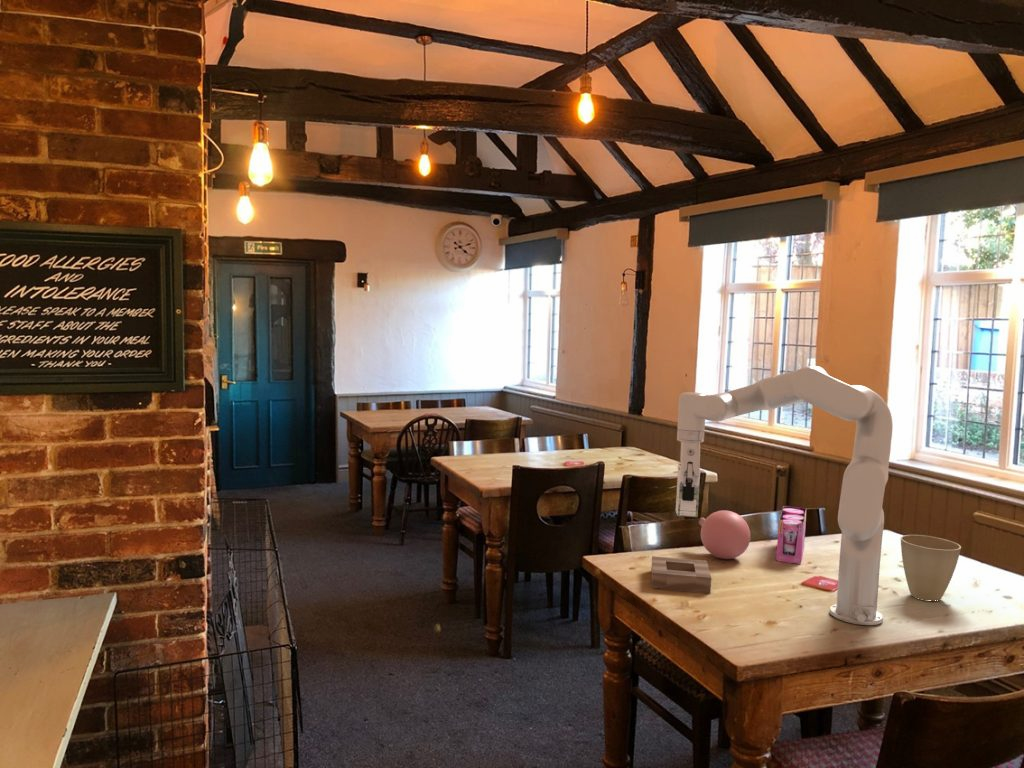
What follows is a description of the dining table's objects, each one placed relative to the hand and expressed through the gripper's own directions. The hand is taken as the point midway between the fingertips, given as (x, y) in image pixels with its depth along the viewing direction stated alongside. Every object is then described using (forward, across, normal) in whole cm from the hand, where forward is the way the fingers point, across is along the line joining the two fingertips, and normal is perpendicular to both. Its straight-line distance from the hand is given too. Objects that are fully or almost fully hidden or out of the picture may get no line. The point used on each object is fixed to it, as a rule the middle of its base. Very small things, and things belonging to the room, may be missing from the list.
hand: (687, 497), depth 220 cm
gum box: (+25, +40, -36) cm, 59 cm away
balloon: (+25, +30, -13) cm, 41 cm away
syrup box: (+5, 0, 0) cm, 5 cm away
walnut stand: (+25, 0, +1) cm, 25 cm away
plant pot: (+25, +5, -67) cm, 72 cm away
